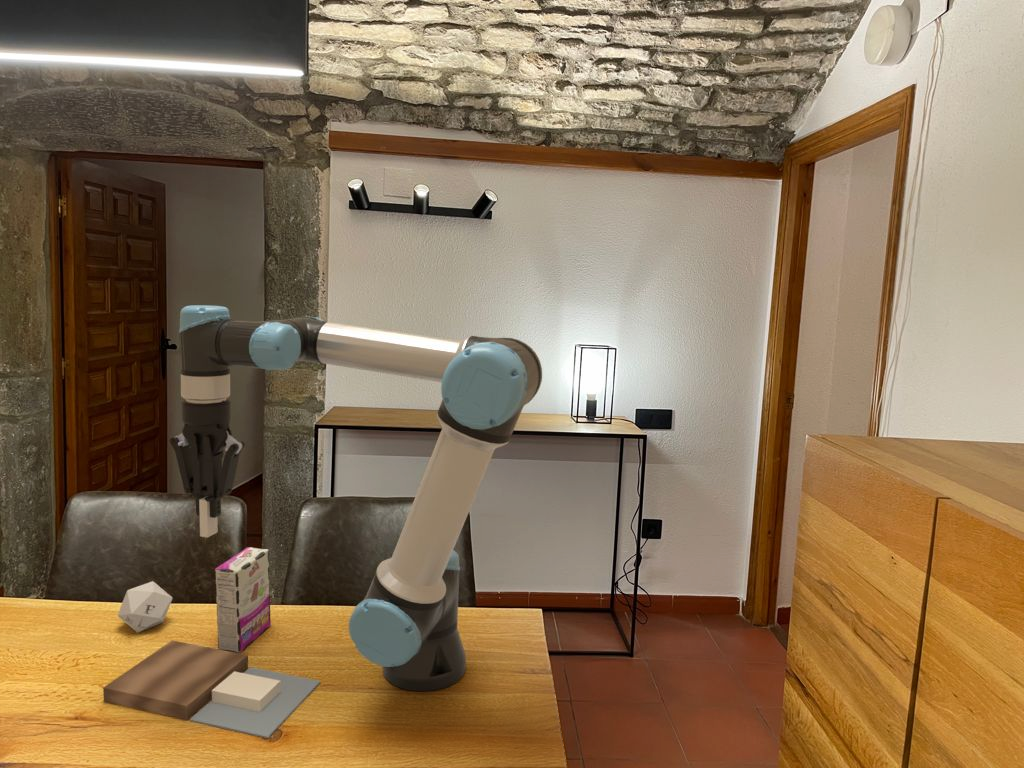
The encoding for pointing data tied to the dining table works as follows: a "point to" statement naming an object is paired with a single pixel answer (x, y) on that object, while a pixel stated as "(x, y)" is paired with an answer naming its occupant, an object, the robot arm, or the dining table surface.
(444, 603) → the robot arm
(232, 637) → the candy bar box
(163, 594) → the die
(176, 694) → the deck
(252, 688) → the cream rectangular tile
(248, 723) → the mat
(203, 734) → the dining table surface
